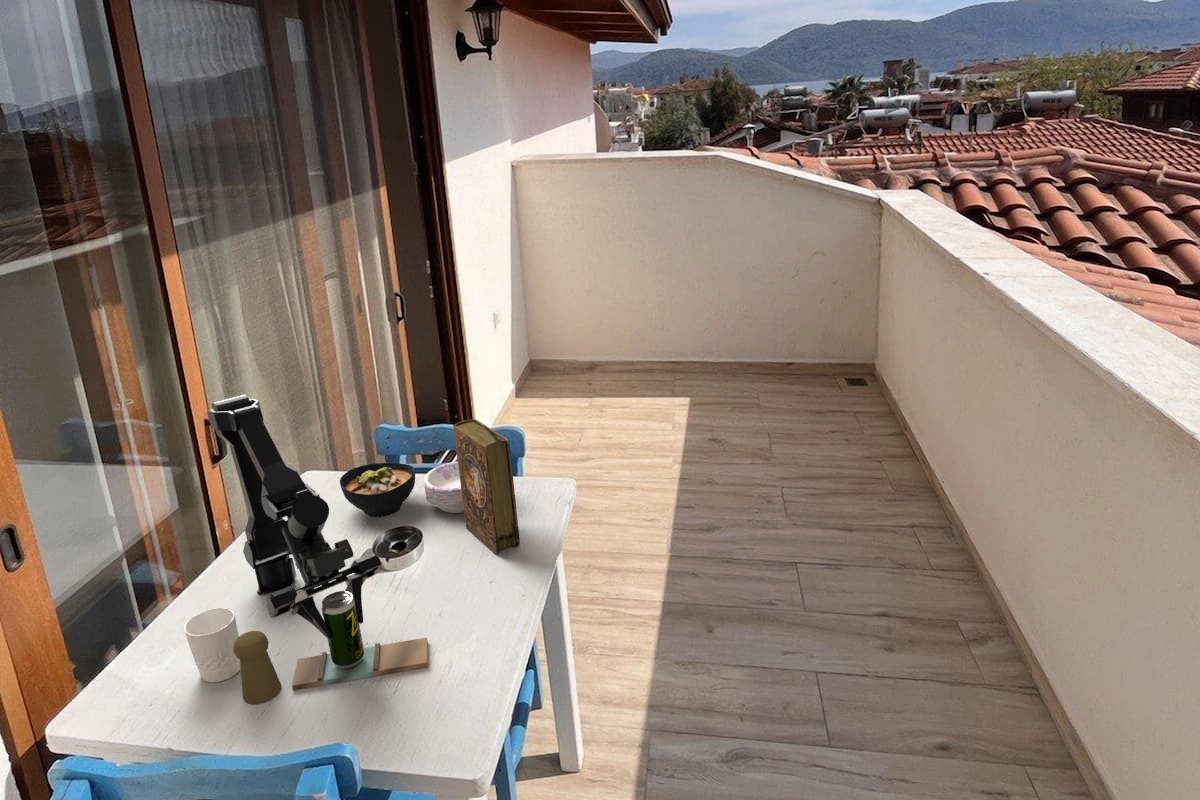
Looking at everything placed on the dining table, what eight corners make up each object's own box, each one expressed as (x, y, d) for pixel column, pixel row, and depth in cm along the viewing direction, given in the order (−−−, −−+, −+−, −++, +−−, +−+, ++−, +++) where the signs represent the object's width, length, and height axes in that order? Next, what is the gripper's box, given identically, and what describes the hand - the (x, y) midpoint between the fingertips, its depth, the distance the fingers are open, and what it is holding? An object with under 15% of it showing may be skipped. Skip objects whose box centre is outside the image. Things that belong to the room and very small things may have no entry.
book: (463, 526, 184) (450, 424, 175) (485, 519, 187) (473, 417, 178) (497, 556, 171) (485, 447, 162) (520, 548, 174) (509, 440, 165)
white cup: (215, 691, 136) (202, 641, 133) (187, 676, 140) (173, 627, 137) (256, 663, 142) (244, 615, 139) (228, 650, 146) (216, 602, 143)
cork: (244, 709, 131) (230, 653, 128) (241, 687, 137) (227, 632, 133) (284, 696, 134) (271, 640, 130) (279, 675, 139) (266, 621, 135)
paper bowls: (435, 525, 185) (431, 494, 183) (421, 498, 199) (417, 469, 196) (500, 510, 191) (496, 479, 188) (482, 484, 204) (478, 455, 201)
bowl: (410, 525, 186) (404, 486, 183) (336, 528, 187) (328, 489, 183) (426, 491, 202) (421, 454, 199) (357, 494, 203) (351, 457, 199)
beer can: (329, 671, 137) (317, 611, 132) (335, 650, 142) (323, 592, 137) (362, 667, 137) (351, 607, 133) (367, 647, 142) (356, 588, 138)
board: (293, 690, 135) (291, 683, 135) (298, 663, 142) (297, 656, 141) (427, 667, 139) (426, 659, 138) (427, 642, 145) (426, 635, 145)
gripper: (258, 552, 129) (297, 642, 125) (369, 511, 140) (408, 593, 136) (251, 574, 137) (288, 660, 133) (356, 534, 148) (392, 612, 144)
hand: (345, 630), depth 136 cm, fingers closed on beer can, 5 cm apart
